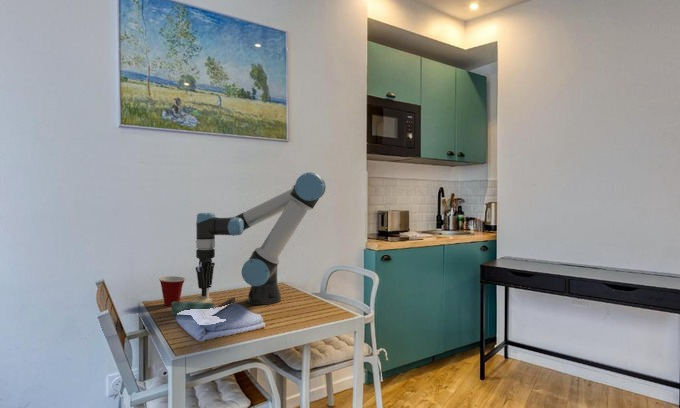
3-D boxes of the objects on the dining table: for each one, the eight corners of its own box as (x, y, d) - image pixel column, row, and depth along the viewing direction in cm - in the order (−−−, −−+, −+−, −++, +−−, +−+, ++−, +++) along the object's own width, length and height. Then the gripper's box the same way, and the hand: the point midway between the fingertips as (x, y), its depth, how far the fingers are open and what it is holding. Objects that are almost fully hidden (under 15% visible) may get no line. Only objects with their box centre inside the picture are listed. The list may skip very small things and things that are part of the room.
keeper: (212, 309, 169) (212, 298, 169) (204, 313, 162) (204, 302, 162) (197, 308, 170) (197, 297, 170) (188, 312, 163) (189, 301, 163)
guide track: (235, 301, 181) (235, 290, 181) (211, 317, 157) (211, 304, 157) (200, 300, 183) (200, 289, 183) (171, 315, 160) (171, 302, 160)
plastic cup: (184, 306, 172) (184, 279, 172) (157, 308, 169) (157, 280, 169) (186, 300, 182) (186, 274, 182) (160, 302, 179) (160, 275, 179)
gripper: (204, 246, 177) (204, 299, 178) (189, 250, 164) (189, 306, 165) (220, 247, 176) (220, 299, 177) (206, 250, 163) (206, 307, 164)
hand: (205, 303), depth 171 cm, fingers closed
